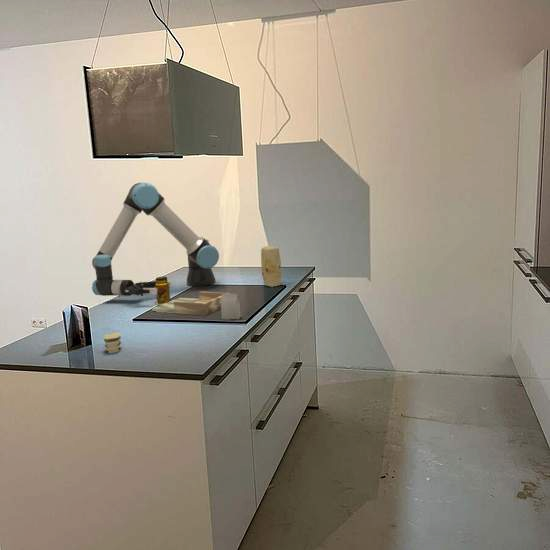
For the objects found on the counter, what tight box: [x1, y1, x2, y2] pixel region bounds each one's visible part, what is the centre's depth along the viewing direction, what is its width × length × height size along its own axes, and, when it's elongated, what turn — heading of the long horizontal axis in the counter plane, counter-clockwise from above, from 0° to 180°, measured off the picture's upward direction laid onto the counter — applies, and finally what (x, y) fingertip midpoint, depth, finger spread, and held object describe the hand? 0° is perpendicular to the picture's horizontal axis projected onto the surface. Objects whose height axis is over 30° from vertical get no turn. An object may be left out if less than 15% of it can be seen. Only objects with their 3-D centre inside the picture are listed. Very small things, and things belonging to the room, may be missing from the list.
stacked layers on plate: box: [102, 332, 123, 354], centre depth 206 cm, size 10×9×6 cm
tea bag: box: [220, 293, 242, 320], centre depth 238 cm, size 4×7×10 cm, turn 69°
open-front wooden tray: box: [151, 291, 231, 316], centre depth 261 cm, size 20×28×5 cm
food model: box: [260, 245, 283, 288], centre depth 294 cm, size 10×7×20 cm
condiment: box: [154, 275, 173, 306], centre depth 275 cm, size 7×8×12 cm
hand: (163, 287), depth 274 cm, fingers open, 13 cm apart
